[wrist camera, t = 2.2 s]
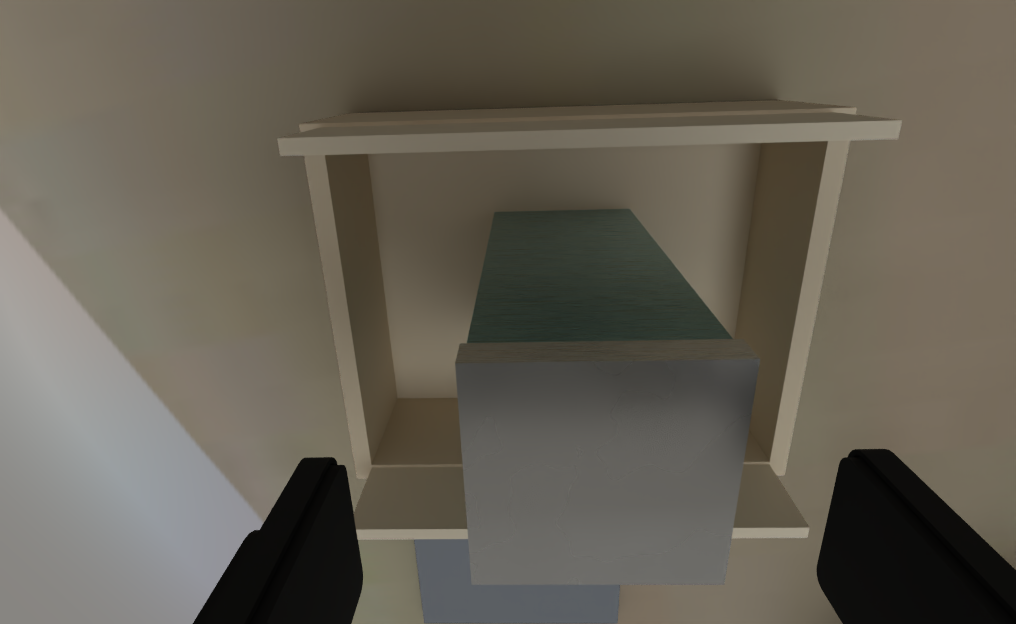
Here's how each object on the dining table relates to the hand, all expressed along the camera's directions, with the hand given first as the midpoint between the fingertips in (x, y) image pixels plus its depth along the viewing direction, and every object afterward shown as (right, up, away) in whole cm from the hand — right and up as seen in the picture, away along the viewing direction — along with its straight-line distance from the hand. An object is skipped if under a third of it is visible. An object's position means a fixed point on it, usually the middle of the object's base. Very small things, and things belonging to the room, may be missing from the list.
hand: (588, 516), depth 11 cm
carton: (+1, +6, +12) cm, 13 cm away
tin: (+1, +5, +11) cm, 12 cm away
